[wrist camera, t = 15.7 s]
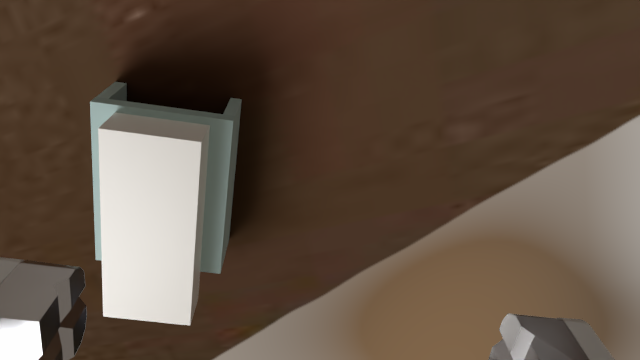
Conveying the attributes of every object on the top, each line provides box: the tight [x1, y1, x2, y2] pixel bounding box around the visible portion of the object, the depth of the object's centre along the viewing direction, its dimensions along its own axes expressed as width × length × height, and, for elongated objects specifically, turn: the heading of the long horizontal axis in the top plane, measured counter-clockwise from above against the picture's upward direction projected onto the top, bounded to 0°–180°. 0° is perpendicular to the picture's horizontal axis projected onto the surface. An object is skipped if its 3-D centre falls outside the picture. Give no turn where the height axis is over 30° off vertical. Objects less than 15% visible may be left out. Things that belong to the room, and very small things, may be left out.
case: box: [90, 82, 242, 274], centre depth 38 cm, size 9×12×5 cm
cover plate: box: [98, 112, 210, 325], centre depth 35 cm, size 6×14×3 cm, turn 171°
